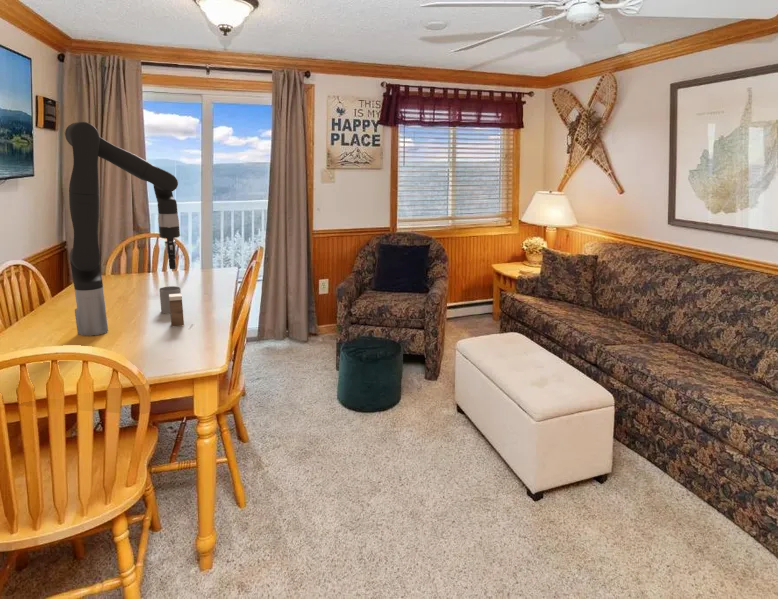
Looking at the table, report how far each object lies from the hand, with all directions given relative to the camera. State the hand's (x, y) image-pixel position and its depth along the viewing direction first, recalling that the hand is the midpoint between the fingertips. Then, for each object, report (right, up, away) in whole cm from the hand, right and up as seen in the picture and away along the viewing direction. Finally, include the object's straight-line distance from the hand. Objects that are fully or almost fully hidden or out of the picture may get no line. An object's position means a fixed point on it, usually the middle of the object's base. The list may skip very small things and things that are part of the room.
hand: (172, 267), depth 216 cm
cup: (-7, -18, +16) cm, 25 cm away
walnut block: (+3, -23, -3) cm, 23 cm away
